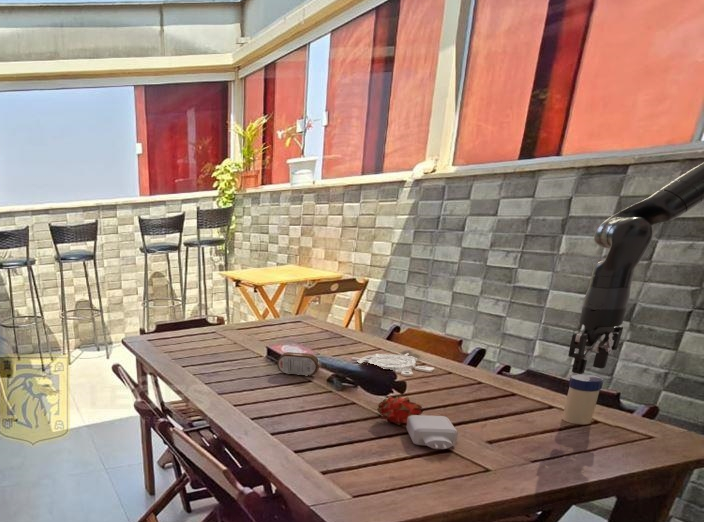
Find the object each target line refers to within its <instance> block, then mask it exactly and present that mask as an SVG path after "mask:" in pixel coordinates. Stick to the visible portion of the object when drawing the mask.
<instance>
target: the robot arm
mask: <svg viewBox="0 0 704 522" xmlns="http://www.w3.org/2000/svg"><path fill="white" fill-rule="evenodd" d="M703 202H704V162H702V163H700V164H698V165H697V166H695V167H693V168H692V169H690V170H688V171H686V172H684V173H683V174H682V175H680V176H678V177H677V178H675V179H674V180H672V181H670V183H668V184H666V185H665V186H663V187H662V188H660V189H659V190H658V191H656V192H654V193H653V194H651V195H649V197H647V198H644V199H643V200H640V201H638V202H635V203H634V204H632V205H630V206H628V207H626V208H624V209H622V210H620V211H619V212H617V213H615V214H613V215H611V216H610V217H607V219H606V220H604V221H603V222H602V223H601V224H600V225H599V226H598V227H597V229H596V230H595V232H594V236H593V240H594V242H595V243H596V245H597V246H599V247H601V248H605V249H609V250H608V252H607V255H606V257H605V259H604V260H601V261H598V262H597V263H595V265H594V266H593V269H592V271H591V276H590V280H589V285H588V288H587V290H586V293H585V295H584V299H583V303H582V309H581V312H580V316H579V321H578V322H579V324H581V325H582V326H584V328H583V330H582V332H581V333H576V332H574V333H573V334H572V336H571V340H570V345H569V350H568V354H567V356H568V357H569V358H573V359H574V360H573V365H572V369H571V373H573V374H576V375H577V374H584V373H585V371H586V366H587V362H588V358H589V356H590V355H591V353H593V352H595V351H596V352H595V356H594V360H593V364H592V366H593V368H597V369H605V368H606V366H607V362H608V359H609V355H610V354H611V353H612V352H613V351H617V349H618V347H619V343H620V341H621V337H622V334H623V331H624V326H621V325H622V324H623V322H624V319H625V316H626V312H627V307H628V304H629V300H630V297H631V287H632V284H633V279H634V275H635V271H636V268H637V266H638V265H639V263H640V262H641V260H642V259H643V257H644V255H645V254H646V252H647V250H648V248H649V247H650V244H651V243H652V240H653V237H654V226H655V225H657V224H662V223H666V222H670V221H673V220H675V219H677V218H679V217H681V216H682V215H684V214H685V213H688V211H691V209H693V208H695V207H697V206H698V205H700V204H701V203H703Z"/></svg>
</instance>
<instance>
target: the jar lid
mask: <svg viewBox="0 0 704 522" xmlns="http://www.w3.org/2000/svg"><path fill="white" fill-rule="evenodd" d="M603 384H604V378H603V377H600V376H598V375H593V374H584V373H583V374H577V373H576V374H573V375H571V376H570V378H569V381H568V387H571V388H573V389H577V390H583V391H598V390H600V391H601V390H602V388H603Z"/></svg>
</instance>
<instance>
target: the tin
mask: <svg viewBox="0 0 704 522" xmlns="http://www.w3.org/2000/svg"><path fill="white" fill-rule="evenodd" d="M318 360H319V359H318V357H317V356H315V355H314V354H311V353H305V352H303V353H302V352H293V351H292V352H291V351H287V352H283V353H282V354H281V355H280V356H279V358H278V359H277V362H276V365H277V369H278V370H279V371H280V373H282V374H284V373H289V374H299V375H309V376H308V377H312V376H313V375H315V374H316V373H317V372H318V371H319V370H320V366H321V365H320V366H319V365H318Z"/></svg>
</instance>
